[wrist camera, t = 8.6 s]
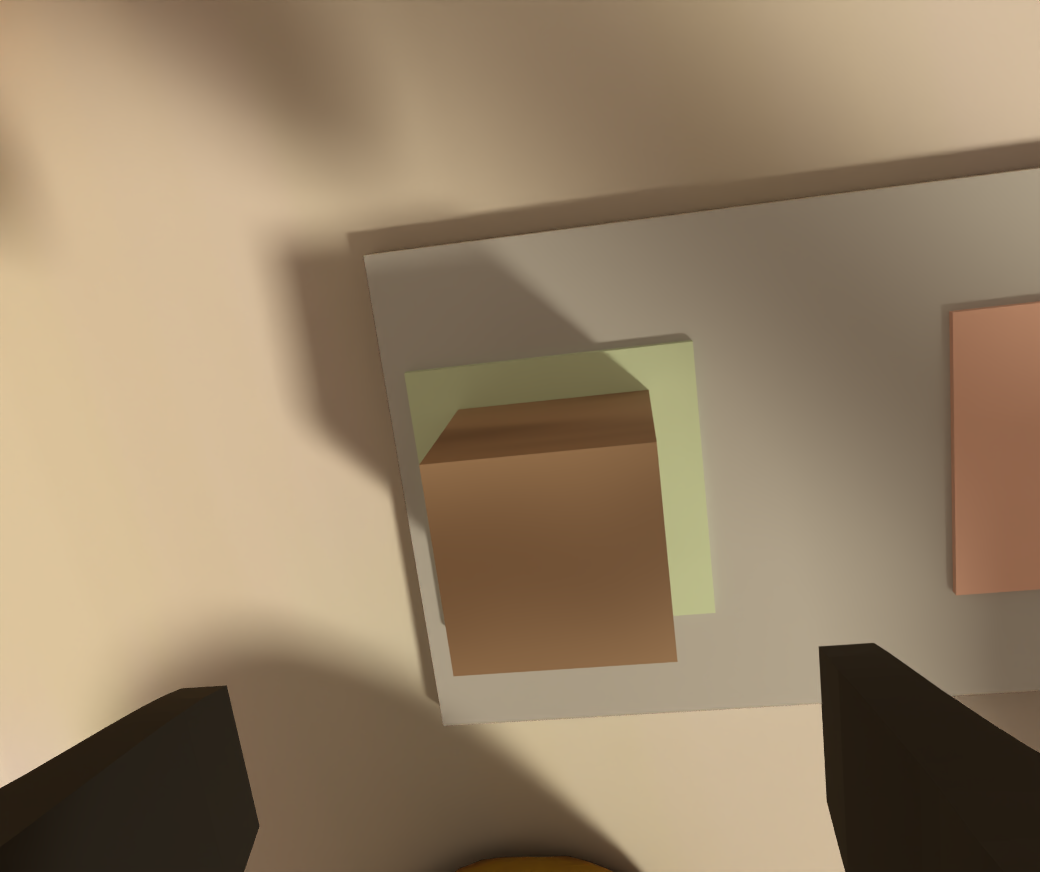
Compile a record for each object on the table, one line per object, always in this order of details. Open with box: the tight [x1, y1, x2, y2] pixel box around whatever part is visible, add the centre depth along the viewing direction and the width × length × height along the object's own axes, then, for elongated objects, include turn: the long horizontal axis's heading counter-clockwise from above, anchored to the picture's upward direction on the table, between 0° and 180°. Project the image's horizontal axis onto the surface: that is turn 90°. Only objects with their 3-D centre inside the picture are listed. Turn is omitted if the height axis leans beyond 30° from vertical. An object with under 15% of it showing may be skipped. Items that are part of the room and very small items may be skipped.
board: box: [363, 167, 1040, 726], centre depth 19 cm, size 18×11×1 cm, turn 98°
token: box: [419, 390, 678, 676], centre depth 18 cm, size 4×4×4 cm
